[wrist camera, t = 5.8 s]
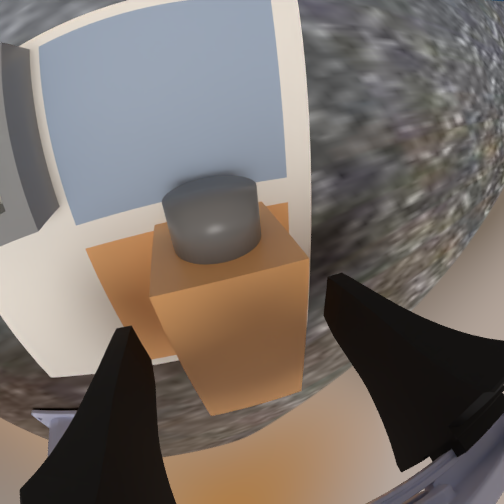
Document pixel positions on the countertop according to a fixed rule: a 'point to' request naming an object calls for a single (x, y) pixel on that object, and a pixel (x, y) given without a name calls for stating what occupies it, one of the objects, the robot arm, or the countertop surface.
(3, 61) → the button housing
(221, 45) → the sheet
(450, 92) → the countertop surface
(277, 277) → the orange marker
